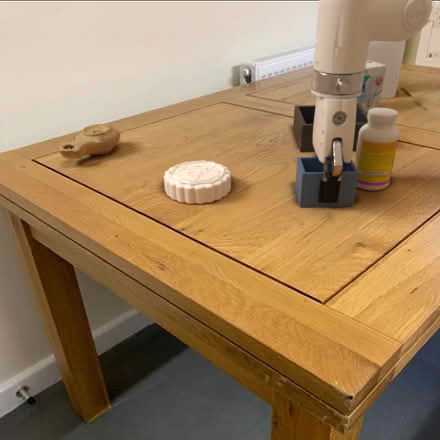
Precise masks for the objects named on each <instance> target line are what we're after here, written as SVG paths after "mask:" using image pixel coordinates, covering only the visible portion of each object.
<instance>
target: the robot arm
mask: <svg viewBox="0 0 440 440" xmlns="http://www.w3.org/2000/svg"><path fill="white" fill-rule="evenodd" d="M317 8H318V10H317V20H316V21H317V22H316V31H315V43H314V54H313V55H314V56H313V65H312V66H313V67H312V73H311V85H310V86H311V87H310V93H311V95H313V96H315V97H316V99H315V105H316V108H315V116H314V126H313V146H314V149H315V152H313V157H318V159H319V161H320V162H321V163H323V179H320V187H319V195H318V202H319V203H336V202H338V197H339V190H340V183H341V174H342V172H341V171H342V168H343V163H342V158H343V160H344V162H346V163H349V162H350V161H351V159H352V160H353V152H354V151H353V142H354V133H355V122H356V104H357V98H356V97H357V96H359V95H361V93H362V87H363V80H364V74H365V67H366V60H367V54H368V47H369V43H370V42H371V41H390V42H398V41H403V40H406V41H407V40H409V39H411V38H413V37H415V36H416V35H417V34H419V33H420V32H421V31H422V30H423V29H424V28H425V26H426V24H427V23H428V21H429V19H430V16H431V14H432V11H433V10H432V9H433V0H318V7H317ZM327 157H332V161H327ZM327 165H332V169H329V171H328V173H327Z"/></svg>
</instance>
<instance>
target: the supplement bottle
mask: <svg viewBox="0 0 440 440" xmlns="http://www.w3.org/2000/svg"><path fill="white" fill-rule="evenodd" d="M367 114H368V116H367V118H368V124H365V125H364V126H362V127H361V129H360V131H359V135H358V142H357V148H356V151H355V155H354V161H353V163H354V165H355V167H356V168H357V170H358V172H359V175H358V181H357V187H356V188H358V189H361V190H365V191H381V190H384V189H386V188H388V186H389V185H390V181H391V176H392V172H393V168H394V162H395V158H396V153H397V148H398V147H397V146H398V144H399V143H398V142H399V138H400V131H399V129H398V127H397V126H395V123H396V121H397V119H398V111H397V110H395V109H392V108H388V107H379V108H372V109H370V110H369V111H368V113H367Z"/></svg>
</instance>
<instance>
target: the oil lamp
mask: <svg viewBox="0 0 440 440" xmlns="http://www.w3.org/2000/svg"><path fill="white" fill-rule="evenodd" d="M72 137H73V140H72V141H69V142H62V143H60V146H59V147H58V151H59V153H60V155H61V156H62V157H63V158H66V159H70V160H75V159H81V158H83V157H85V156H89V155H95V156H100V155H106V154H109V153H111V152H112V151H113V149H114V148H115V147H116V146H117V145H118V143H119V142H120V139H121V131H119V129H117V128H116V127H115V126H113V125H111V124H106V123H95V124H91V125H88V126H86V127H84V128H82V130H81V132H79V133H78V134H75V135H73V136H72Z"/></svg>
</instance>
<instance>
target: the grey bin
mask: <svg viewBox="0 0 440 440" xmlns="http://www.w3.org/2000/svg"><path fill="white" fill-rule="evenodd" d="M315 108H316V104H309V105H294V109H293V112H294V113H293V124H292V132H293V135H294V138H295V140H296V143H297V147H298V149H299V153H315V149H314V146H313V126H314V116H315ZM367 116H368V113H366V112H365V111H364V109H363V108H362V107H361V105H360V104H356V122H355V133H354V142H353V151H352V152H356V148H357V142H358V135H359V131H360V129H361V127H362V126H364V125H365V124H368V118H367Z"/></svg>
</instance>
